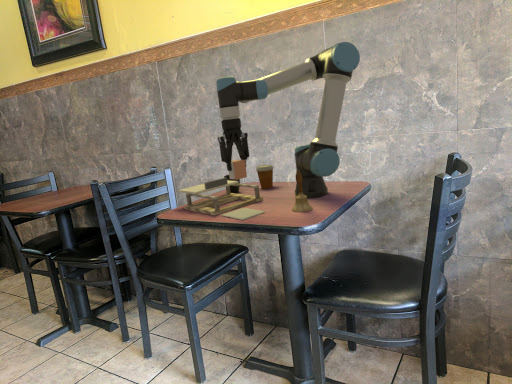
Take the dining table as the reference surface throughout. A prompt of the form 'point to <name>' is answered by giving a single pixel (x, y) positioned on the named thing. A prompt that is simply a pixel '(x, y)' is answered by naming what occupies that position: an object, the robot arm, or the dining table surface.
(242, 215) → the pad
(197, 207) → the open wooden rack
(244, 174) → the block
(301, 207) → the hand bell
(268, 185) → the disposable coffee cup
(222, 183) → the sliding lid
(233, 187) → the mug
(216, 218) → the dining table surface
